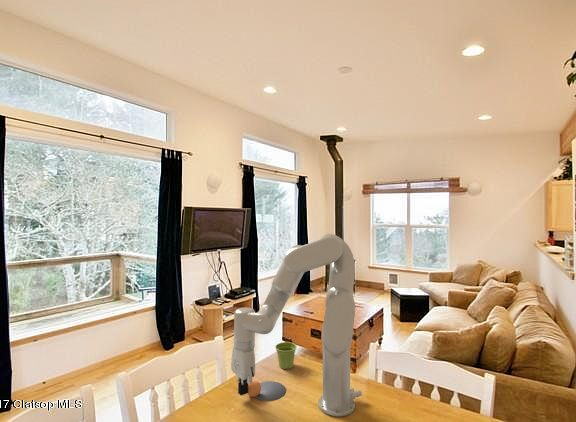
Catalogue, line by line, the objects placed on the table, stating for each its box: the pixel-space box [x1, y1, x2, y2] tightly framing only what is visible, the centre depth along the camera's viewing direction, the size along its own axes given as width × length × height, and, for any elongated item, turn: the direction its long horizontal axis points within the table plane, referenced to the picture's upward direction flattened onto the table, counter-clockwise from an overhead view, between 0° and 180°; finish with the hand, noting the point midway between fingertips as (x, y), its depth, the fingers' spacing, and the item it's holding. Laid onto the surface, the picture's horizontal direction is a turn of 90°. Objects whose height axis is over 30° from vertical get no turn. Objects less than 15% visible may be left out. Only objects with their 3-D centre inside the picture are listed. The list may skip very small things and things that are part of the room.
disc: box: [254, 380, 287, 402], centre depth 127 cm, size 13×13×1 cm
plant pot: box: [274, 341, 297, 370], centre depth 146 cm, size 9×9×9 cm
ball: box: [246, 379, 261, 398], centre depth 123 cm, size 6×6×6 cm
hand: (243, 393), depth 121 cm, fingers closed
